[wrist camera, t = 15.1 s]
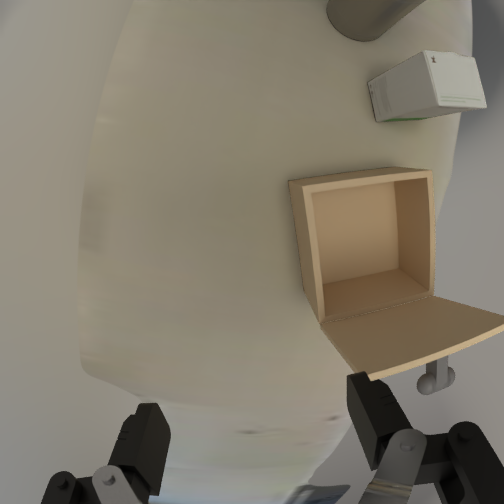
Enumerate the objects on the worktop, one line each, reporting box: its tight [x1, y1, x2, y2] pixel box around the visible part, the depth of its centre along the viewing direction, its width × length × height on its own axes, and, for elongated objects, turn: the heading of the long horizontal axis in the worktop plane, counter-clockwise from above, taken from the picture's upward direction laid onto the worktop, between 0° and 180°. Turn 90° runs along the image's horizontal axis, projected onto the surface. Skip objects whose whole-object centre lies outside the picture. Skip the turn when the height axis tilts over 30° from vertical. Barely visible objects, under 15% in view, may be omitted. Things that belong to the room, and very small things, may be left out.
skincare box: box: [368, 50, 487, 122], centre depth 30 cm, size 8×7×16 cm
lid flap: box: [320, 296, 504, 395], centre depth 27 cm, size 16×16×5 cm
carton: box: [288, 167, 435, 324], centre depth 38 cm, size 16×16×10 cm
